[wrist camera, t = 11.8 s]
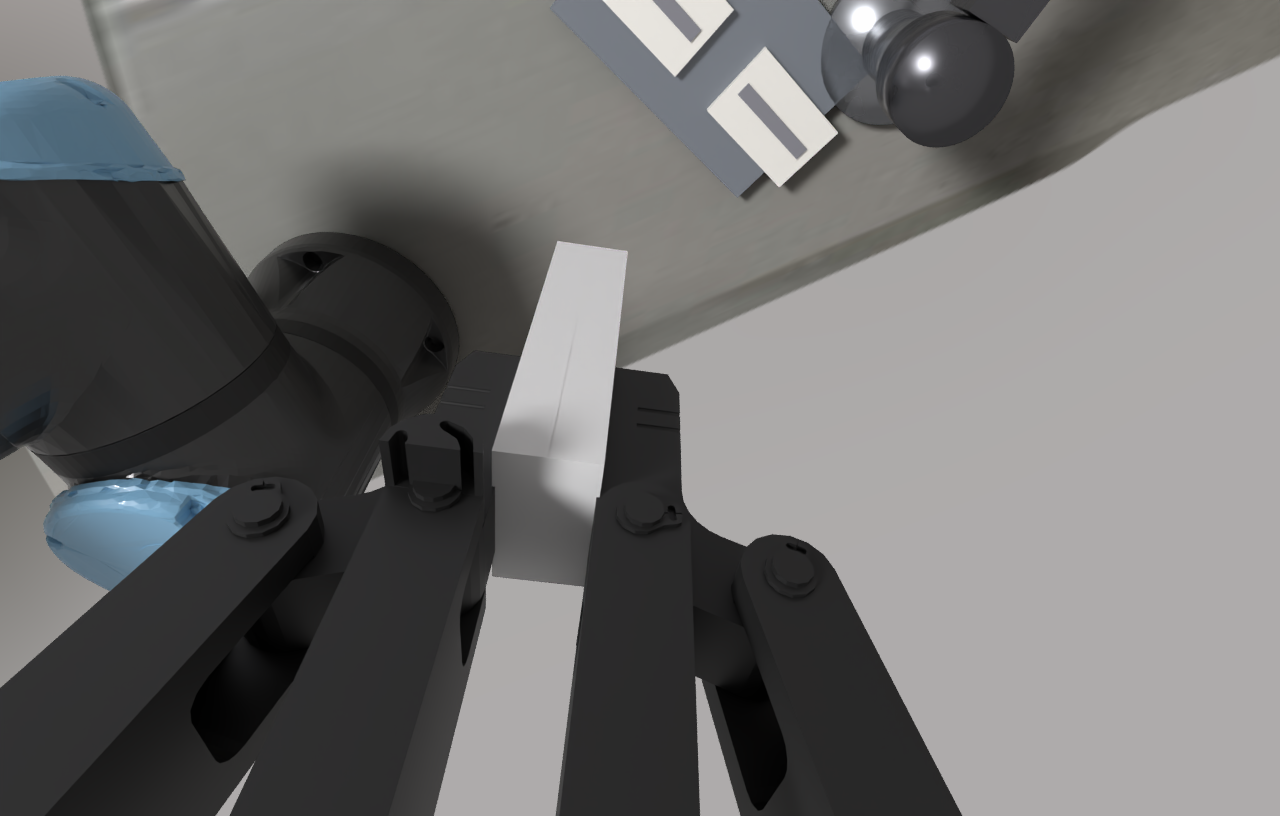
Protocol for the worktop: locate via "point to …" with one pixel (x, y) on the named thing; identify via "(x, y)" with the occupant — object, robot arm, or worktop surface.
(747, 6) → the label board
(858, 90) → the round pedestal stand
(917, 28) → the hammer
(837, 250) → the worktop surface
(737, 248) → the worktop surface
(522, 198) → the worktop surface
